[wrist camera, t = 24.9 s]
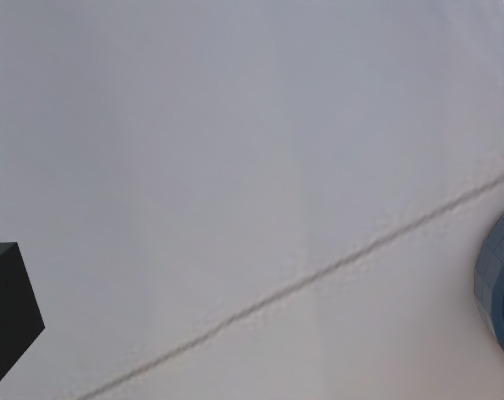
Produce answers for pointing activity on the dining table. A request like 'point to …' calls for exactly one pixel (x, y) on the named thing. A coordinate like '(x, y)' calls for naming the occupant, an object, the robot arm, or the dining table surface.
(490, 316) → the bowl
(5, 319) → the robot arm
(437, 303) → the dining table surface
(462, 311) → the dining table surface
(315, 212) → the dining table surface
